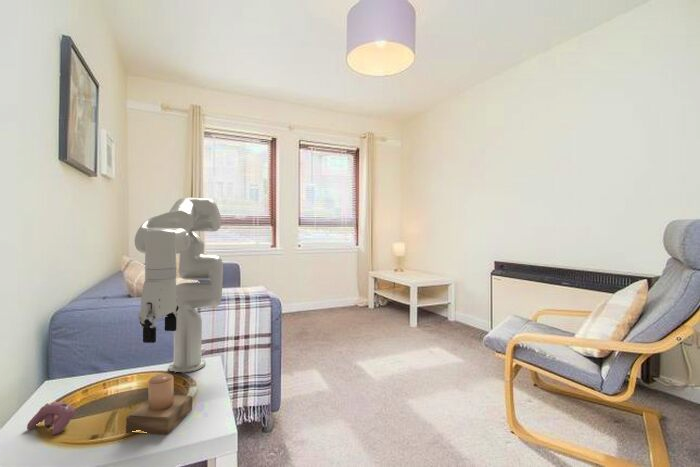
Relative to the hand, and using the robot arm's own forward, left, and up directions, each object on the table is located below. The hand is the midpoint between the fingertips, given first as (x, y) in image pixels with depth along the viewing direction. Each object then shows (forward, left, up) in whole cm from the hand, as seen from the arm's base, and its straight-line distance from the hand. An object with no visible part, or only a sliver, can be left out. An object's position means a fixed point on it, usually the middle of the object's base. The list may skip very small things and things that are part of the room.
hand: (160, 336), depth 95 cm
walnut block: (+1, +1, -23) cm, 23 cm away
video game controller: (+7, -25, -23) cm, 34 cm away
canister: (+1, +1, -18) cm, 18 cm away
